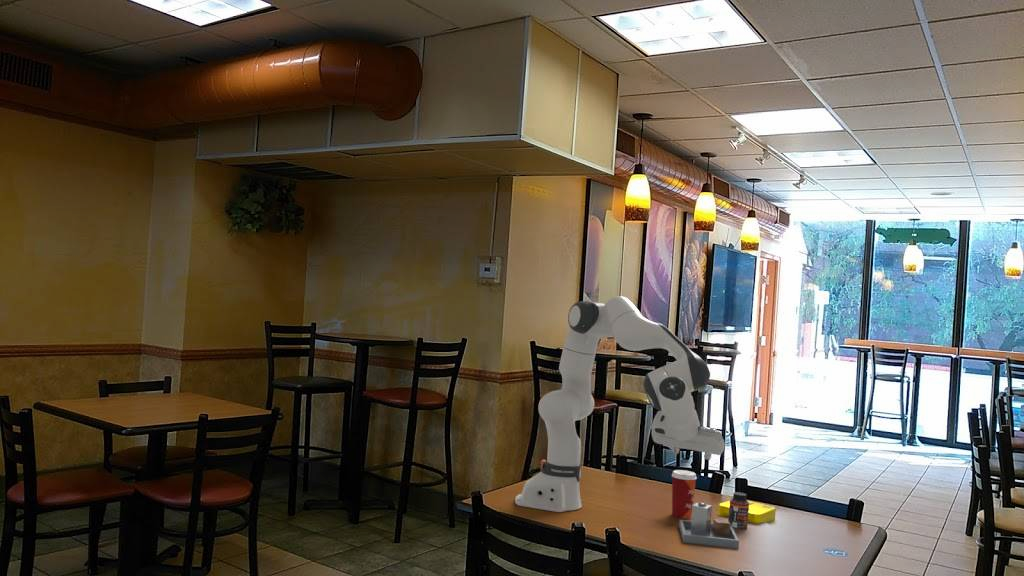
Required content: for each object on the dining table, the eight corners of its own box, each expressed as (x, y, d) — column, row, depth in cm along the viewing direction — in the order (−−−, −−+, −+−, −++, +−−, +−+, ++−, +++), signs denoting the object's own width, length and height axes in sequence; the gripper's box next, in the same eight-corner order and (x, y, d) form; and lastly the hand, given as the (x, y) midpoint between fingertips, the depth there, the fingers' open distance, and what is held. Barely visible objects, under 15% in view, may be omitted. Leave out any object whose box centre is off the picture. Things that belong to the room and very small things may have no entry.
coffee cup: (694, 523, 239) (697, 476, 239) (668, 519, 241) (671, 473, 241) (693, 516, 247) (696, 471, 248) (668, 513, 249) (671, 468, 249)
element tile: (715, 516, 250) (716, 502, 250) (735, 509, 261) (736, 496, 261) (758, 528, 240) (758, 513, 240) (777, 520, 251) (778, 506, 251)
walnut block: (716, 535, 224) (717, 522, 224) (712, 531, 228) (713, 518, 228) (729, 536, 224) (730, 523, 224) (725, 532, 228) (726, 519, 228)
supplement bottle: (737, 532, 232) (739, 496, 232) (723, 527, 237) (726, 491, 237) (751, 531, 234) (753, 495, 235) (737, 525, 240) (739, 490, 240)
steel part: (705, 538, 221) (707, 506, 221) (690, 535, 223) (692, 503, 223) (709, 535, 224) (711, 503, 225) (695, 531, 227) (697, 500, 227)
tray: (683, 545, 216) (683, 534, 216) (679, 529, 231) (679, 519, 231) (738, 551, 214) (739, 540, 214) (730, 534, 229) (731, 525, 229)
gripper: (723, 421, 202) (731, 452, 210) (652, 410, 213) (662, 439, 221) (717, 440, 198) (725, 470, 206) (645, 427, 209) (655, 456, 217)
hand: (692, 454), depth 214 cm, fingers open, 8 cm apart
